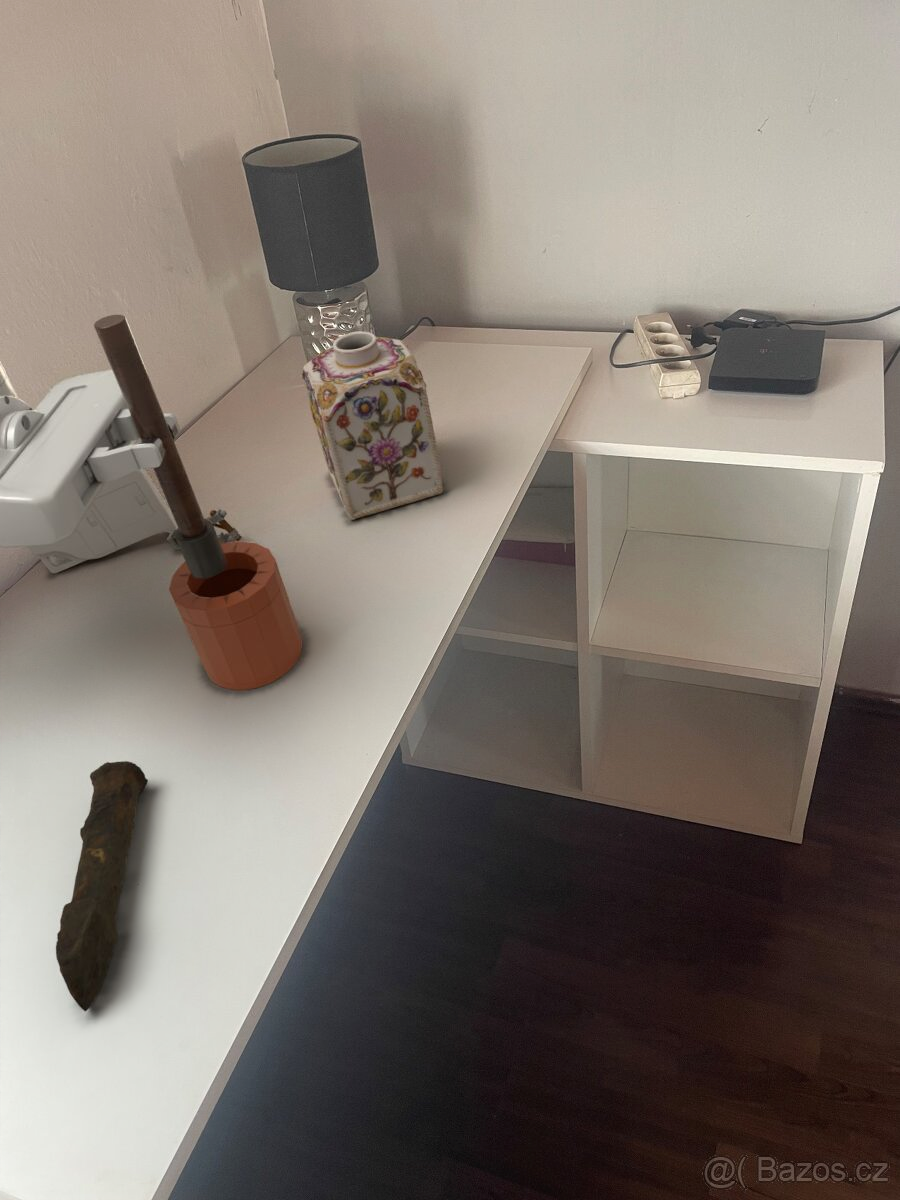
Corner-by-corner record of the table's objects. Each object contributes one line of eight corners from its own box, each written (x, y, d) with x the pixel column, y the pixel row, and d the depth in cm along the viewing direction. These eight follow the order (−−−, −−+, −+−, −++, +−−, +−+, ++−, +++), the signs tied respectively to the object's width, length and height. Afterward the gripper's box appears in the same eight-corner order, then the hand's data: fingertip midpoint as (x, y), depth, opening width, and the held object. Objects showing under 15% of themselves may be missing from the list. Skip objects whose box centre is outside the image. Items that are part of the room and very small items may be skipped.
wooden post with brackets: (244, 541, 96) (217, 511, 93) (192, 566, 99) (165, 537, 97) (249, 531, 97) (223, 501, 95) (198, 556, 100) (171, 528, 98)
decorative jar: (418, 447, 108) (392, 307, 96) (447, 494, 99) (422, 346, 87) (326, 474, 106) (288, 334, 94) (346, 524, 97) (308, 377, 86)
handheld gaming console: (59, 576, 101) (179, 524, 102) (59, 590, 99) (182, 537, 100) (1, 501, 93) (131, 447, 94) (-1, 515, 91) (132, 459, 92)
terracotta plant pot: (186, 664, 83) (148, 585, 77) (259, 608, 88) (230, 530, 81) (247, 705, 78) (213, 624, 71) (322, 643, 83) (296, 562, 76)
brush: (183, 571, 74) (77, 326, 60) (212, 551, 76) (116, 308, 62) (205, 583, 72) (102, 334, 58) (234, 562, 74) (141, 315, 60)
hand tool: (106, 792, 72) (82, 757, 69) (153, 784, 72) (131, 749, 69) (49, 1021, 58) (17, 990, 55) (108, 1012, 58) (79, 980, 55)
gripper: (68, 423, 77) (216, 408, 76) (-41, 567, 62) (140, 553, 60) (37, 357, 73) (192, 340, 72) (-88, 494, 58) (105, 477, 56)
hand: (168, 439), depth 66 cm, fingers closed on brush, 2 cm apart
